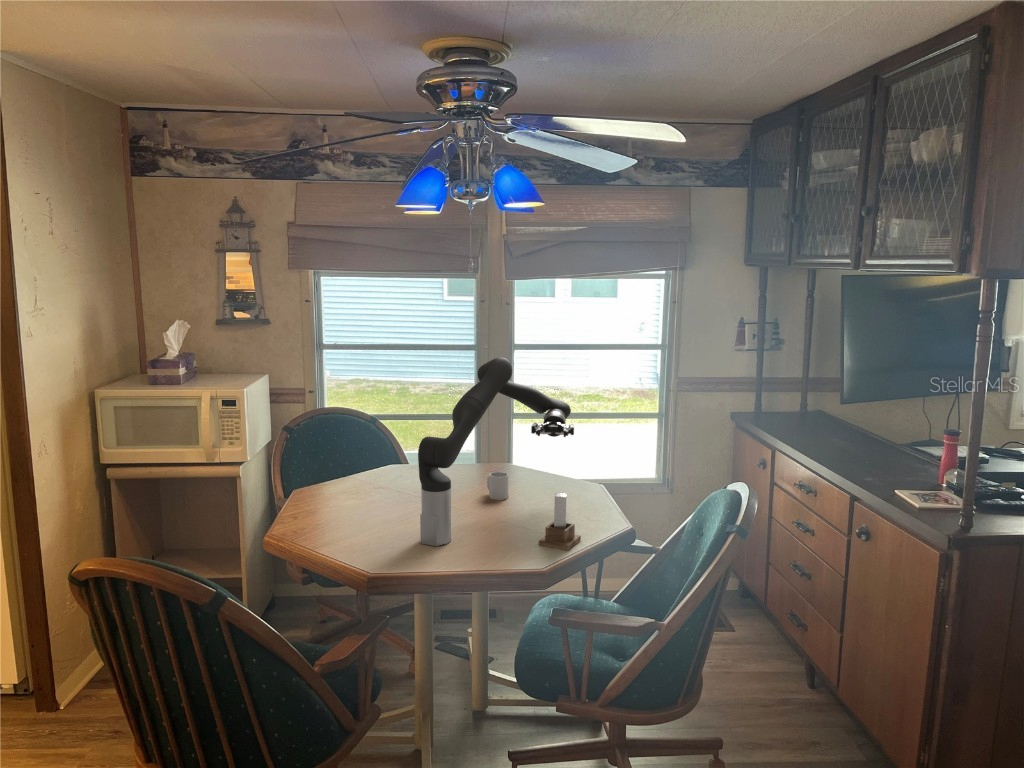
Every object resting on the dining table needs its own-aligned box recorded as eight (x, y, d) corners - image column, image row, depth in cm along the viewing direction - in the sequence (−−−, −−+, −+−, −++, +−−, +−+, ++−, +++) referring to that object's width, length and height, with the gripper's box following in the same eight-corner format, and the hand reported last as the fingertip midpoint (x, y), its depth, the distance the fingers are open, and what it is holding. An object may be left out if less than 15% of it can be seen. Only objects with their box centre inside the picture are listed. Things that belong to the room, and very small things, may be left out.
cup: (497, 501, 277) (498, 478, 275) (480, 495, 284) (480, 472, 283) (512, 497, 282) (512, 474, 280) (494, 491, 289) (495, 469, 287)
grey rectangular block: (565, 540, 234) (566, 496, 232) (553, 539, 234) (554, 496, 232) (565, 536, 237) (566, 493, 235) (554, 535, 238) (555, 493, 236)
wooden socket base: (568, 550, 229) (568, 533, 228) (538, 544, 234) (539, 528, 233) (580, 540, 238) (580, 523, 237) (551, 534, 243) (551, 518, 242)
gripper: (534, 412, 261) (530, 421, 245) (575, 413, 259) (573, 423, 243) (534, 433, 262) (529, 444, 246) (574, 434, 260) (573, 445, 244)
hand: (551, 433), depth 245 cm, fingers open, 8 cm apart
